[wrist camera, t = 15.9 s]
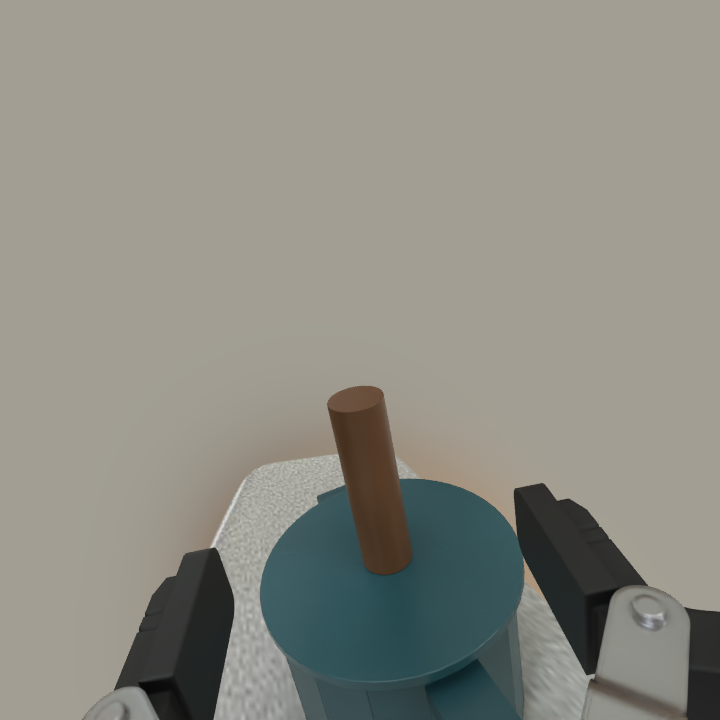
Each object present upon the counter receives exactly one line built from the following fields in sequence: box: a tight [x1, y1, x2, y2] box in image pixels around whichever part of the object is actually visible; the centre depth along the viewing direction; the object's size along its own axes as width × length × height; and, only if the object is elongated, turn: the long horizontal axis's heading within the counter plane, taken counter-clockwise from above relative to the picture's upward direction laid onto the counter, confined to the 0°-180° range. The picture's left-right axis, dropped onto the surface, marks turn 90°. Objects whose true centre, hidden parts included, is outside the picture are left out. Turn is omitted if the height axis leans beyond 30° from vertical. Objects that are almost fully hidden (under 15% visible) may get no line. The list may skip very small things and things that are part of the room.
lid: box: [260, 386, 524, 691], centre depth 22 cm, size 12×12×10 cm
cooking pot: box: [286, 485, 524, 720], centre depth 25 cm, size 11×17×10 cm
